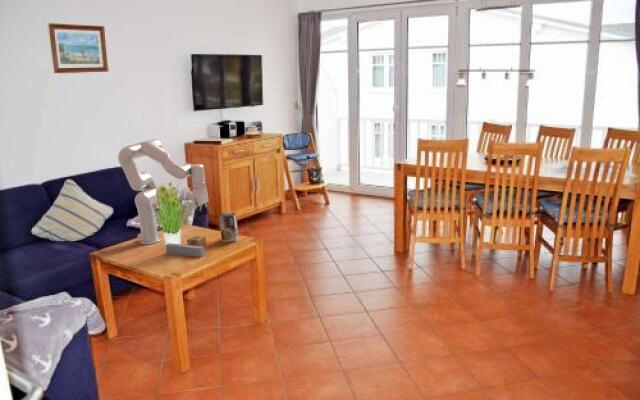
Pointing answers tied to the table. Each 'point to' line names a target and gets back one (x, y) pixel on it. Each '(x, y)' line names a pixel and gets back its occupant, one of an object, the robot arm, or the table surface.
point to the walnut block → (197, 241)
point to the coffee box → (228, 227)
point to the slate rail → (185, 250)
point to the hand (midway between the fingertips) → (202, 215)
